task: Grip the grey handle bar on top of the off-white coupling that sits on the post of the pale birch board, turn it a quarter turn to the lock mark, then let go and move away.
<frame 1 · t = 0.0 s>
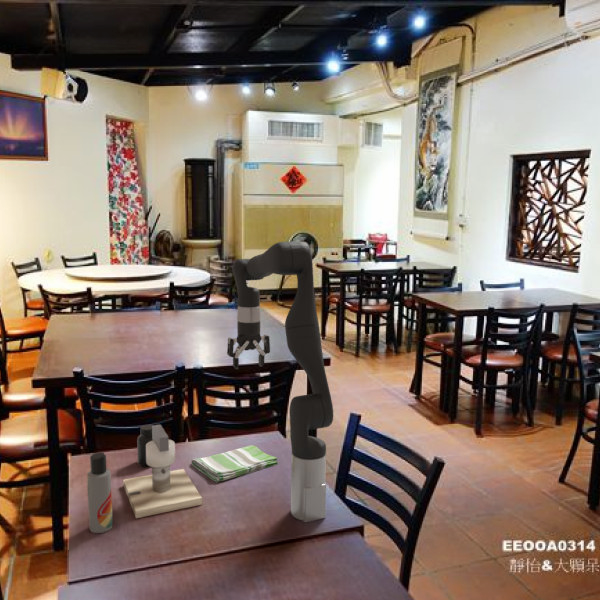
hand: (248, 367, 197), 29 cm above the table, tool pointing down, fingers open, 8 cm apart
dish towel: (234, 466, 191), on the table
supplement bottle: (148, 463, 191), on the table
coupling: (160, 446, 167), point 15 cm above the table, hinge at 0.0°
post board: (161, 494, 170), on the table
lotion bottle: (101, 528, 152), on the table
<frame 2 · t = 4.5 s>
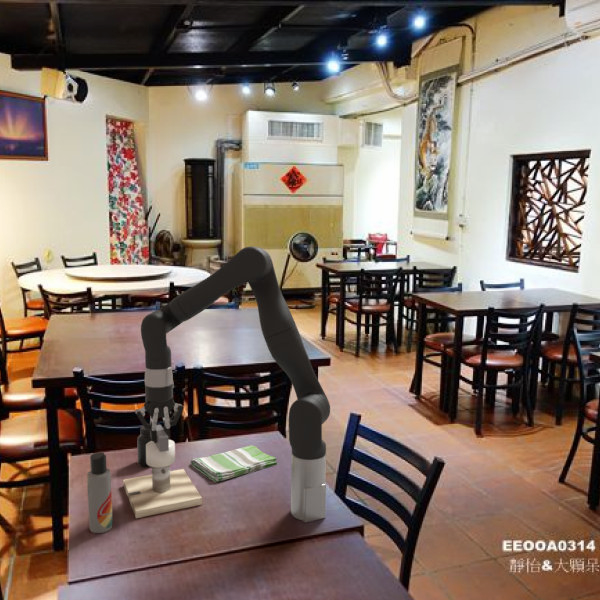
hand: (160, 440, 167), 16 cm above the table, tool pointing down, fingers closed on coupling, 2 cm apart
coupling: (160, 446, 167), point 15 cm above the table, hinge at 0.0°, touching gripper
everything else where it was.
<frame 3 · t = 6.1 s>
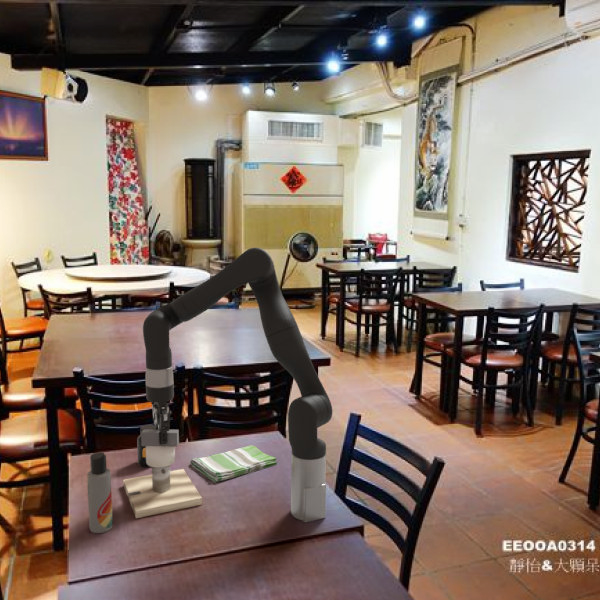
hand: (161, 440, 167), 16 cm above the table, tool pointing down, fingers closed on coupling, 3 cm apart
coupling: (160, 446, 167), point 15 cm above the table, hinge at 65.1°, touching gripper
everything else where it was.
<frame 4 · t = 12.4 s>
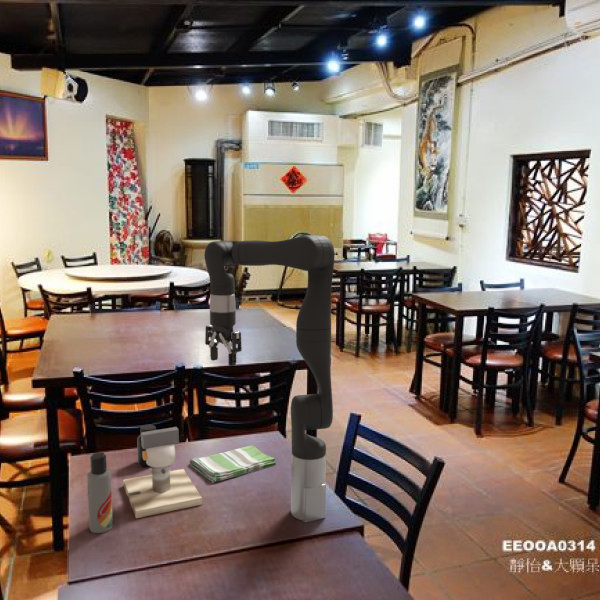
hand: (223, 362, 176), 36 cm above the table, tool pointing down, fingers open, 8 cm apart
coupling: (160, 446, 167), point 15 cm above the table, hinge at 91.4°
everything else where it was.
at the end: coupling at +91° (first picture: +0°); lotion bottle moved 0.2 cm from its start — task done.
